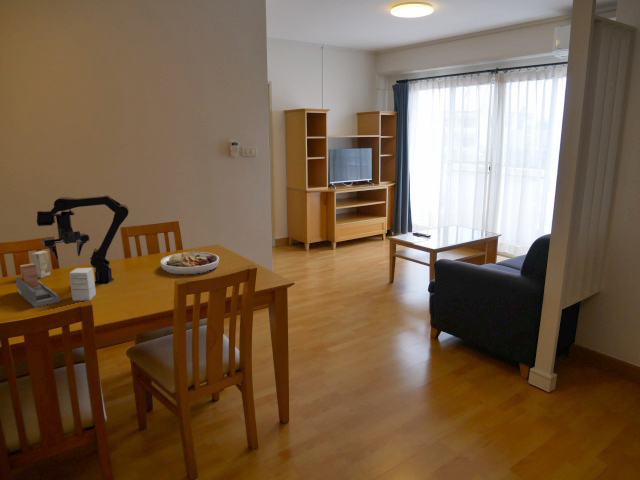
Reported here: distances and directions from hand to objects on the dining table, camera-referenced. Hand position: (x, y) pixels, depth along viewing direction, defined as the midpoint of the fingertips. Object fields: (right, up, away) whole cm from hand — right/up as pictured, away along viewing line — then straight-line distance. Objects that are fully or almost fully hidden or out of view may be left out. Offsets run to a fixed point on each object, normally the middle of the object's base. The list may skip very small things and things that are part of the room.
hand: (68, 257), depth 214 cm
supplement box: (+15, -17, -13) cm, 26 cm away
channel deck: (-6, -16, -13) cm, 22 cm away
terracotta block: (-13, -13, -7) cm, 19 cm away
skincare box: (-20, -10, +14) cm, 27 cm away
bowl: (+48, -7, +32) cm, 58 cm away
